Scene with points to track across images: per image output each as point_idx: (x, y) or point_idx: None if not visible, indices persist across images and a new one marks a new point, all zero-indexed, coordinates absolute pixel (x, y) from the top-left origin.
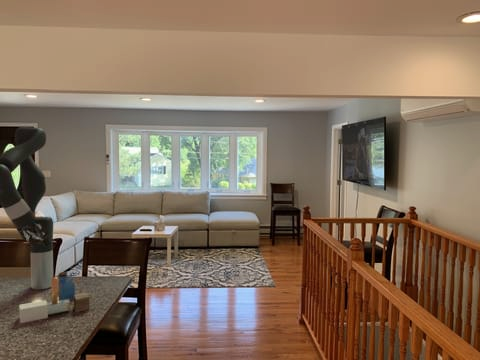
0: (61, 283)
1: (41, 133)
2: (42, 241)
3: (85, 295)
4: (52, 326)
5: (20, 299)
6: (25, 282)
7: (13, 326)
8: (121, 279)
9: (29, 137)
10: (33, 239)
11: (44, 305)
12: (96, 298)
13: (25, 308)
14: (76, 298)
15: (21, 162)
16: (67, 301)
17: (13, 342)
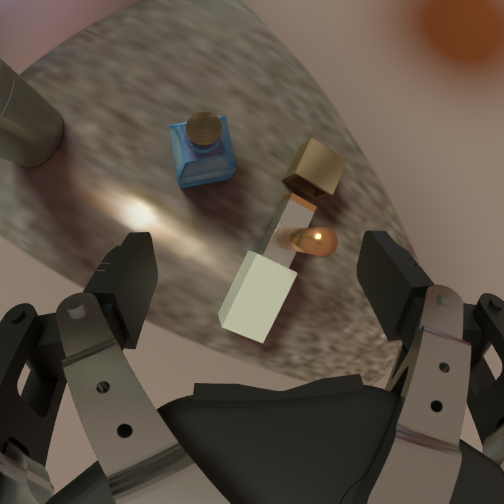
0: (218, 158)
1: None
2: (397, 330)
3: (330, 158)
4: (339, 288)
5: (74, 234)
6: None
7: (256, 346)
8: None
9: None
10: (123, 304)
11: (293, 280)
12: (276, 102)
13: (269, 329)
14: (329, 190)
15: None
16: (309, 210)
17: (332, 373)
